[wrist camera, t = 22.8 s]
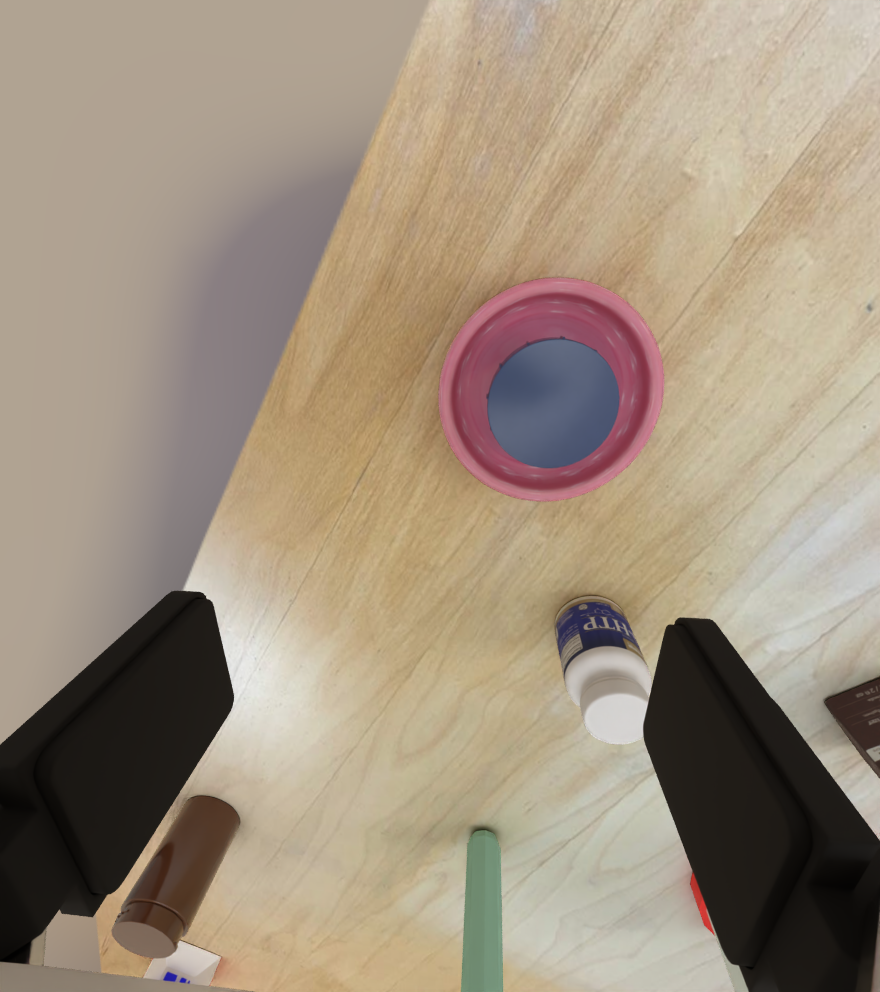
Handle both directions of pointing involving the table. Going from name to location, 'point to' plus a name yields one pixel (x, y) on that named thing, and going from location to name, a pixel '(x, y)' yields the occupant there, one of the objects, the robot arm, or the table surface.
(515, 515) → the table surface
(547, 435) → the lid
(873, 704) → the box
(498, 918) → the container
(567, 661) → the pill bottle
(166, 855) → the jar
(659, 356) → the saucer
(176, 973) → the red open cube
